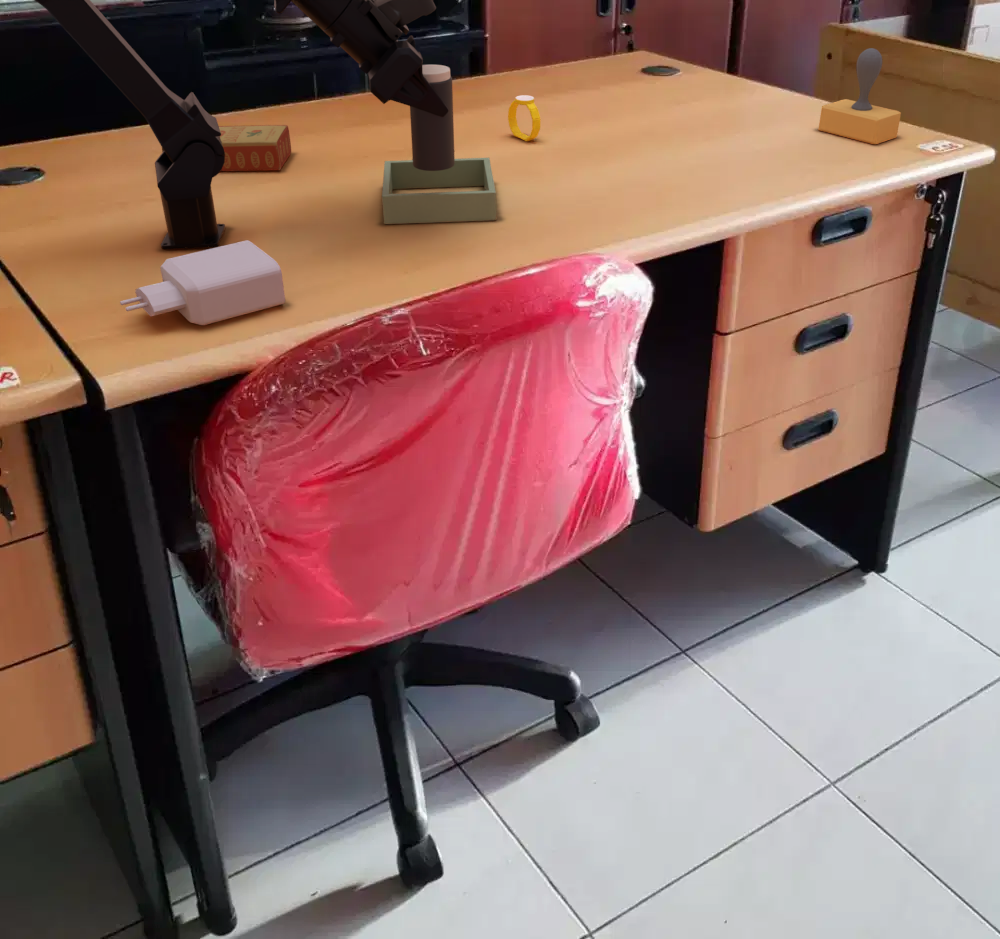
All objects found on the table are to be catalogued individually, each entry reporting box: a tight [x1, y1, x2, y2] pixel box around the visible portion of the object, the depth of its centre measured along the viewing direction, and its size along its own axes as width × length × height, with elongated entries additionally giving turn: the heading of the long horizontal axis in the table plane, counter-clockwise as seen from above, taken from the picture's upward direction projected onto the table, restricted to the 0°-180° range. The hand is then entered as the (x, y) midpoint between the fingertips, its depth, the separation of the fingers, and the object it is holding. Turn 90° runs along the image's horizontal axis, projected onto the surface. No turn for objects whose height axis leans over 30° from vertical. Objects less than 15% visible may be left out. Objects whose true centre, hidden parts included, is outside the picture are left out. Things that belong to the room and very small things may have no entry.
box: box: [381, 157, 497, 225], centre depth 135 cm, size 14×14×4 cm
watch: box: [507, 94, 542, 142], centre depth 157 cm, size 6×3×6 cm, turn 38°
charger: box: [119, 239, 286, 326], centre depth 109 cm, size 5×9×15 cm
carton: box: [161, 124, 292, 172], centre depth 149 cm, size 8×16×4 cm, turn 89°
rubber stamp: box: [817, 47, 902, 145], centre depth 155 cm, size 10×6×12 cm, turn 40°
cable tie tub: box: [409, 64, 456, 171], centre depth 126 cm, size 5×5×11 cm
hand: (443, 107), depth 125 cm, fingers closed on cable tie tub, 5 cm apart
